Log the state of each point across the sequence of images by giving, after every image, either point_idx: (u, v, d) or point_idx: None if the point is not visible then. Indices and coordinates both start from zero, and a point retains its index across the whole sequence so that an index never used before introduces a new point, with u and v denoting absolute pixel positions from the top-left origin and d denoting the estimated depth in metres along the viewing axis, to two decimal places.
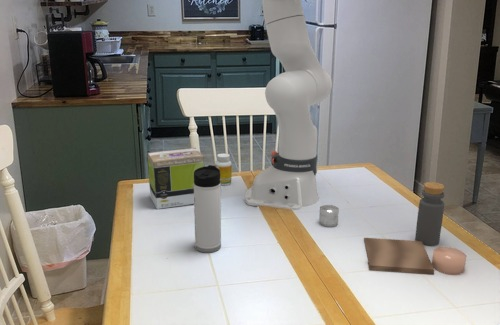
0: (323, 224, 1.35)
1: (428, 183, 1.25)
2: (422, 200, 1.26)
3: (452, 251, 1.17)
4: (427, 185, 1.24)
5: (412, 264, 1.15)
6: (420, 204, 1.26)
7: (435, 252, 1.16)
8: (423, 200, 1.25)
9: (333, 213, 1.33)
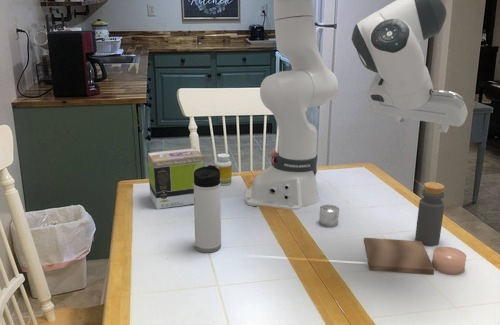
0: (323, 224, 1.35)
1: (428, 183, 1.25)
2: (422, 200, 1.26)
3: (452, 251, 1.17)
4: (427, 185, 1.24)
5: (412, 264, 1.15)
6: (420, 204, 1.26)
7: (435, 252, 1.16)
8: (423, 200, 1.25)
9: (334, 212, 1.33)
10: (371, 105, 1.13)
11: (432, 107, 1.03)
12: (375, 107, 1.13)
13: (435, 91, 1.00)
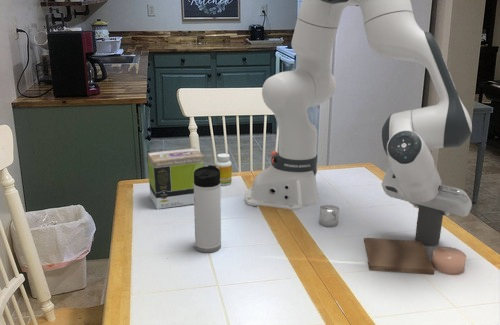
0: (324, 224, 1.35)
1: None
2: None
3: (452, 251, 1.17)
4: None
5: (412, 264, 1.15)
6: None
7: (435, 252, 1.16)
8: None
9: (335, 212, 1.33)
10: (385, 191, 1.26)
11: (441, 200, 1.16)
12: (389, 192, 1.26)
13: (443, 188, 1.13)
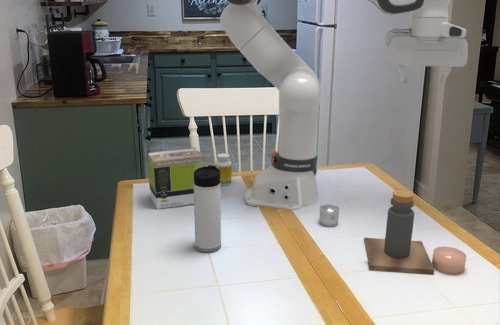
0: (330, 224, 1.34)
1: (397, 191, 1.17)
2: (391, 209, 1.17)
3: (452, 251, 1.17)
4: (396, 192, 1.16)
5: (412, 264, 1.15)
6: (388, 213, 1.17)
7: (435, 252, 1.16)
8: (391, 209, 1.17)
9: (338, 210, 1.35)
10: None
11: None
12: None
13: None
